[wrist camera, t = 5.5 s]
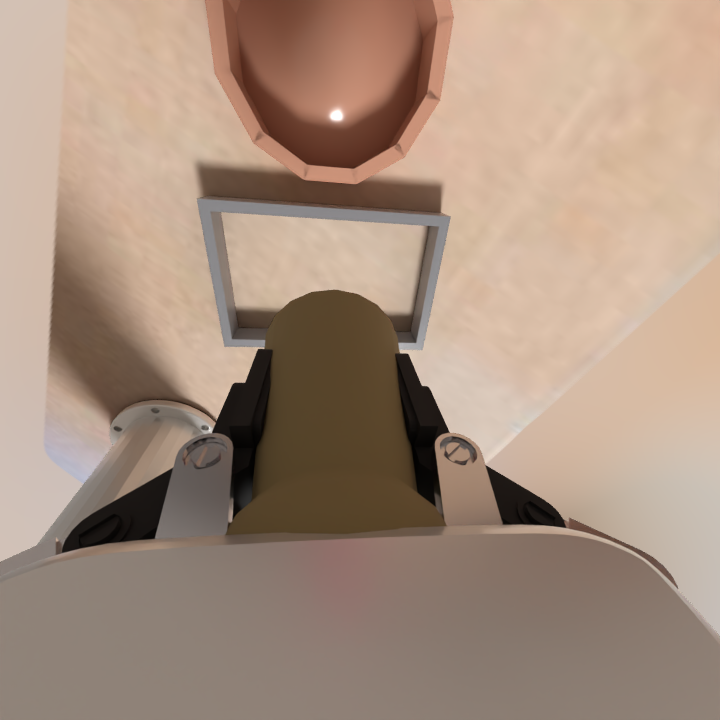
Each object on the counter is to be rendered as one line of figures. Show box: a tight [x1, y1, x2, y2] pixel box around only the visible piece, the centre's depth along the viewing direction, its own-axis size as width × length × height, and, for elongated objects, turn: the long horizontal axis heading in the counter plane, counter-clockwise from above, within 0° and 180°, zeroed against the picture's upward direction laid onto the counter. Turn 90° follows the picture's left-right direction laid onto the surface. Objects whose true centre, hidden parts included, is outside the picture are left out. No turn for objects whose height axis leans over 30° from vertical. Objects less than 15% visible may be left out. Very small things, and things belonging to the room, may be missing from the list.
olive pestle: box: [225, 290, 447, 535], centre depth 9 cm, size 6×6×11 cm
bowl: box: [205, 0, 454, 184], centre depth 19 cm, size 14×14×4 cm
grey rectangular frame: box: [197, 196, 450, 350], centre depth 28 cm, size 13×20×2 cm, turn 86°
